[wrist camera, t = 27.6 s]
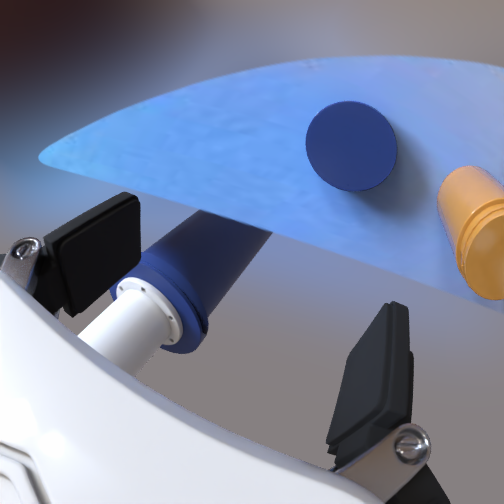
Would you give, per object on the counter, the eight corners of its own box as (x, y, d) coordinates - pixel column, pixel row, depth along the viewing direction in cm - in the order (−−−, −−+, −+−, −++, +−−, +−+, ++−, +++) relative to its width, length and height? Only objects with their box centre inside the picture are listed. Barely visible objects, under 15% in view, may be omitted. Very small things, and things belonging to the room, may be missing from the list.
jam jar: (480, 248, 19) (509, 316, 12) (425, 219, 21) (441, 283, 14) (511, 186, 16) (560, 236, 9) (453, 152, 17) (493, 187, 10)
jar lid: (371, 200, 22) (371, 208, 21) (297, 162, 23) (292, 167, 22) (409, 127, 18) (412, 130, 16) (328, 86, 19) (325, 85, 17)
